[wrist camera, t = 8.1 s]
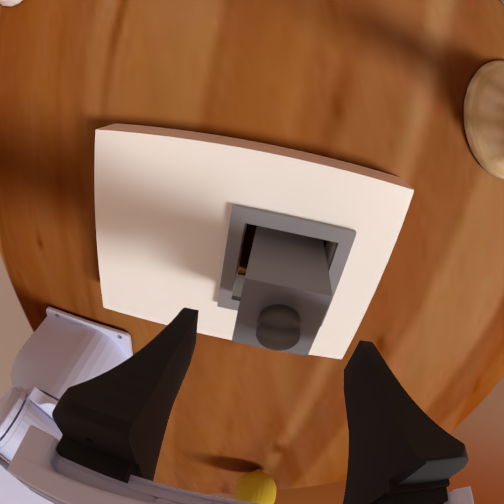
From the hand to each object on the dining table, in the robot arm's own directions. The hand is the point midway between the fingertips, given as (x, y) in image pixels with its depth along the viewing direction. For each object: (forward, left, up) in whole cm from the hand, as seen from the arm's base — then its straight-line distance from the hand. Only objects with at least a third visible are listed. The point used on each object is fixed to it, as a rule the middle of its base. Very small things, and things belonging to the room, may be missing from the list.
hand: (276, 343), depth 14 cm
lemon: (+5, -35, -9) cm, 36 cm away
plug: (0, 0, -9) cm, 9 cm away
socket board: (-3, 0, -9) cm, 9 cm away
